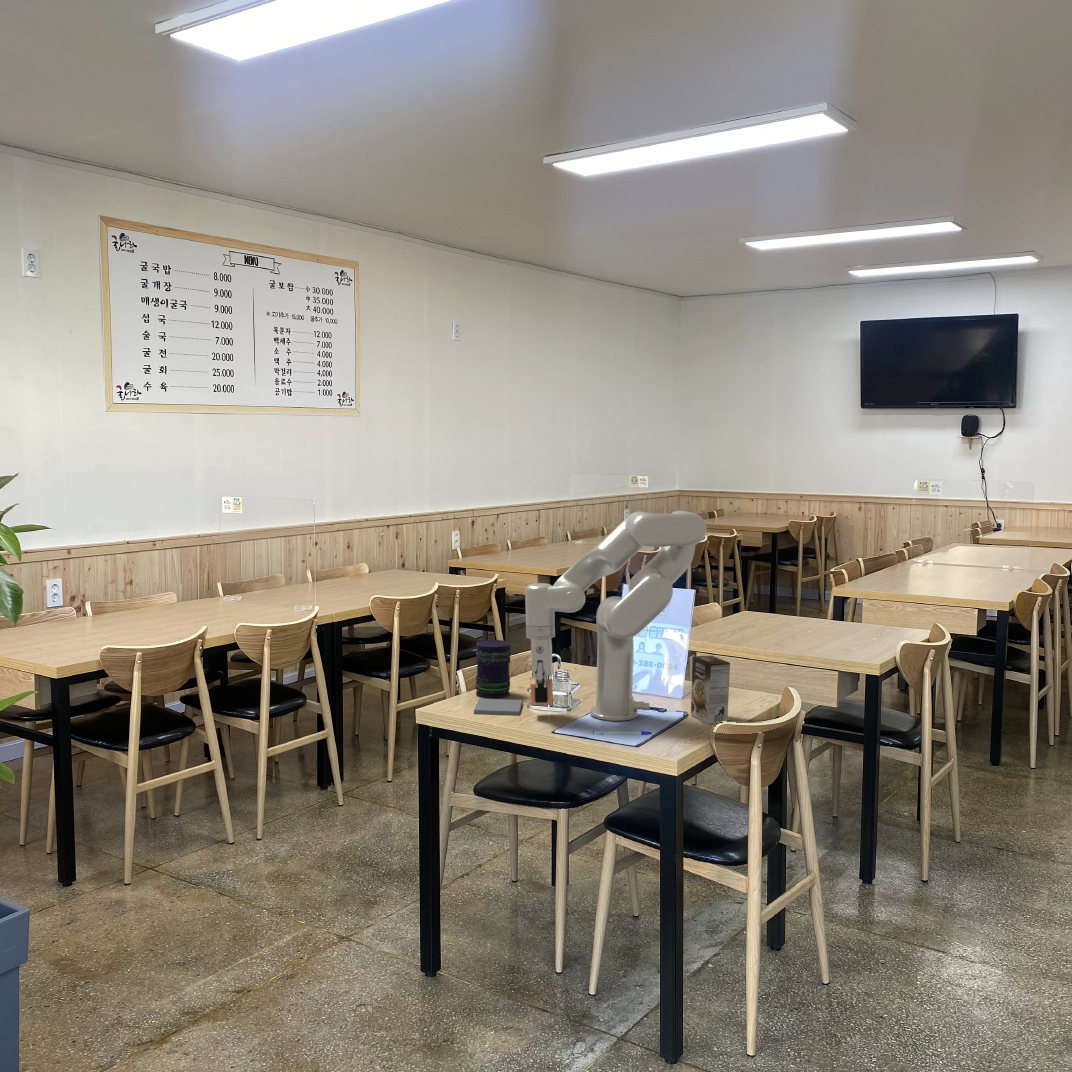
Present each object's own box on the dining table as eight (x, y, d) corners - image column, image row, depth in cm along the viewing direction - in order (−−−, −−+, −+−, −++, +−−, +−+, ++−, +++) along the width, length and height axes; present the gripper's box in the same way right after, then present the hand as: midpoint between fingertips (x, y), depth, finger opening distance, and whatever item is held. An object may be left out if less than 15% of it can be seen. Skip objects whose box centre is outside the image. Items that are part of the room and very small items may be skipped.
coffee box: (689, 715, 265) (691, 656, 263) (710, 713, 267) (712, 654, 266) (707, 724, 256) (709, 663, 255) (728, 722, 258) (730, 661, 257)
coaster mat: (522, 703, 274) (522, 700, 274) (519, 715, 262) (519, 711, 262) (478, 702, 275) (478, 698, 275) (473, 713, 263) (473, 710, 263)
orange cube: (552, 699, 263) (552, 679, 263) (552, 704, 258) (551, 684, 257) (532, 699, 264) (531, 679, 263) (530, 705, 258) (530, 684, 258)
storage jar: (494, 700, 276) (495, 648, 275) (468, 695, 282) (468, 643, 281) (517, 694, 284) (517, 642, 283) (490, 688, 290) (491, 638, 289)
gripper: (553, 637, 250) (555, 707, 252) (555, 624, 267) (557, 691, 269) (524, 637, 251) (525, 708, 252) (528, 625, 268) (529, 691, 269)
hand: (541, 698), depth 261 cm, fingers closed on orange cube, 5 cm apart
